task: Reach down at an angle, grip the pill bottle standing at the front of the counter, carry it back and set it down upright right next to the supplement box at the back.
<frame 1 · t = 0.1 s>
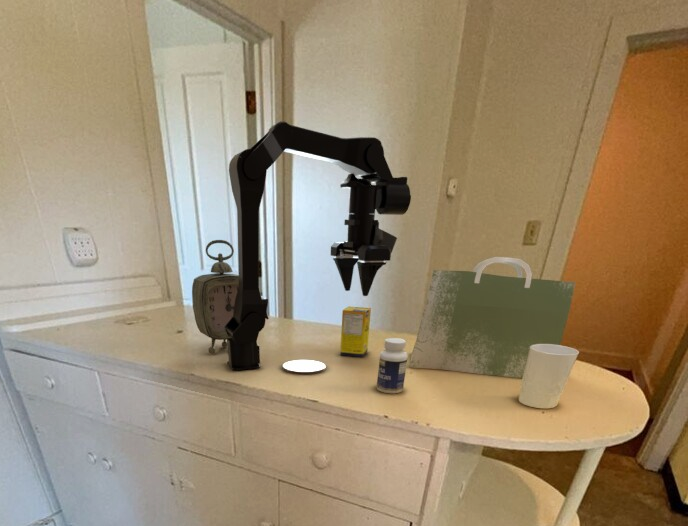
hand: (356, 293, 101), 15 cm above the countertop, tool pointing down, fingers open, 9 cm apart
supplement box: (353, 354, 111), on the countertop
white disc: (304, 368, 99), on the countertop
grocery bag: (477, 367, 102), on the countertop
white cup: (536, 403, 81), on the countertop
tabletop clock: (227, 350, 113), on the countertop
pill bottle: (389, 390, 87), on the countertop
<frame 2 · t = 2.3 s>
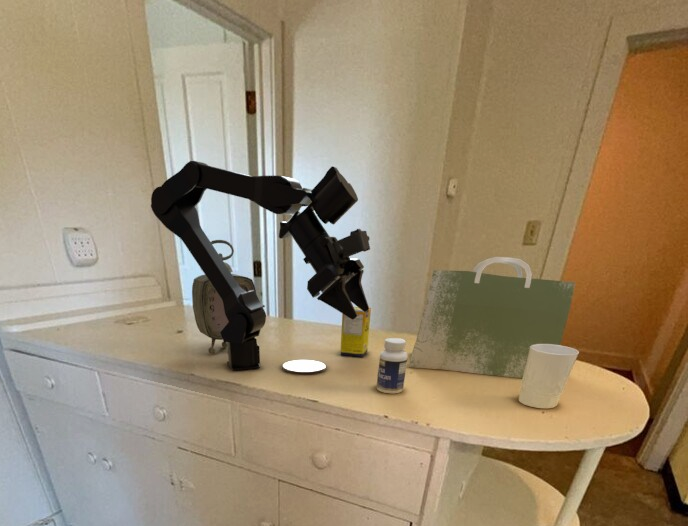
hand: (361, 314, 84), 13 cm above the countertop, tool tilted 40°, fingers open, 9 cm apart
nothing on the countertop moved.
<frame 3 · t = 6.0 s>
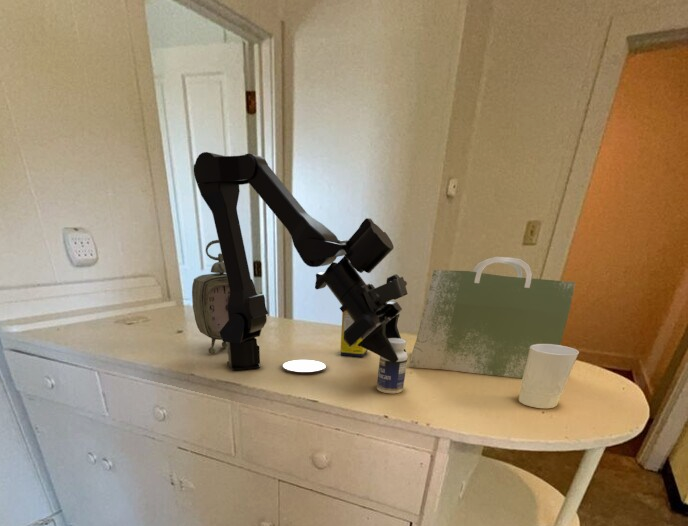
hand: (400, 357, 83), 7 cm above the countertop, tool tilted 45°, fingers closed on pill bottle, 5 cm apart
pill bottle: (389, 390, 87), on the countertop, touching gripper
everything else where it was.
when the fingers open (7 cm above the countertop, at t = 12.9 s): pill bottle stays where it is, on the countertop.
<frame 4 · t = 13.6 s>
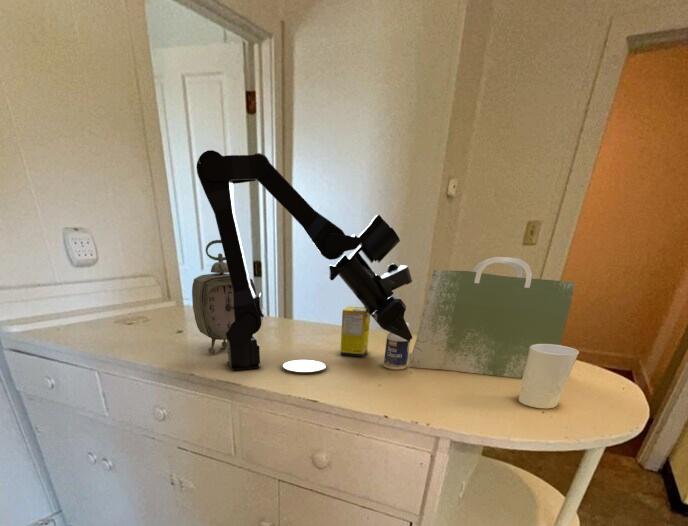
hand: (405, 334, 97), 7 cm above the countertop, tool tilted 45°, fingers open, 9 cm apart
pill bottle: (394, 367, 101), on the countertop
everything else where it was.
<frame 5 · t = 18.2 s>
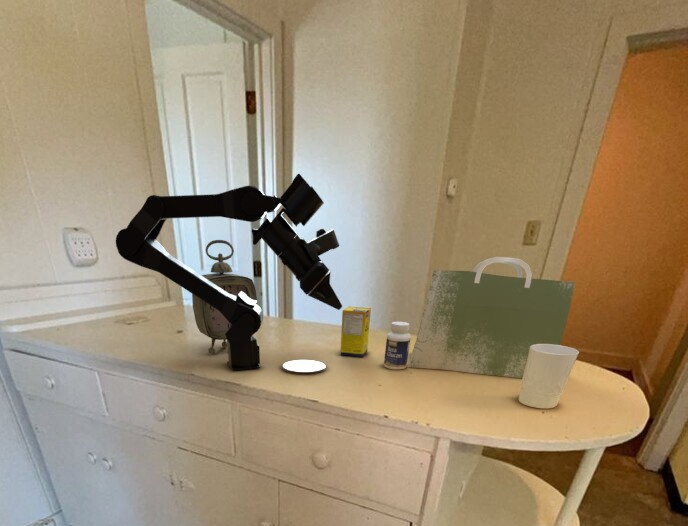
hand: (338, 304, 93), 14 cm above the countertop, tool tilted 45°, fingers open, 9 cm apart
nothing on the countertop moved.
at the end: pill bottle 14.5 cm from the supplement box (horizontally); pill bottle tilted 0°; supplement box moved 0.2 cm from its start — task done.
